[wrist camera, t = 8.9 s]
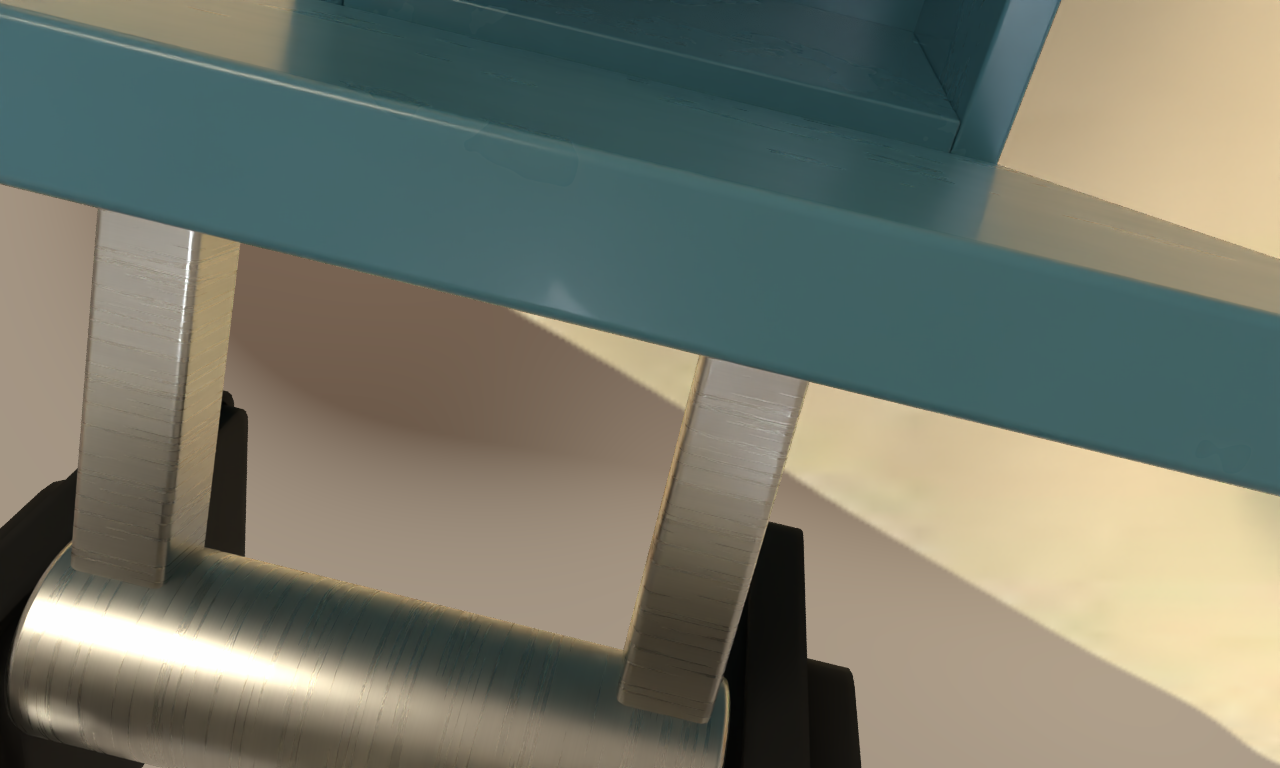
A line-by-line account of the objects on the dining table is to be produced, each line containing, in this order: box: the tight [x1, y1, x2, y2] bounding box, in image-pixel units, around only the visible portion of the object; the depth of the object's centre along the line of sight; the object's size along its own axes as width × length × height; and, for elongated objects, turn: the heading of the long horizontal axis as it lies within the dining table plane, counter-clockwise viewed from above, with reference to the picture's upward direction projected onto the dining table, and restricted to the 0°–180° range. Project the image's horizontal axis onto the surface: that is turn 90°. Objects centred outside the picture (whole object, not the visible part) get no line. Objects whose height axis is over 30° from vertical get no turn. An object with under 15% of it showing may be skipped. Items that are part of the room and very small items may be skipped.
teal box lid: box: [0, 0, 1280, 768], centre depth 13 cm, size 15×13×5 cm
